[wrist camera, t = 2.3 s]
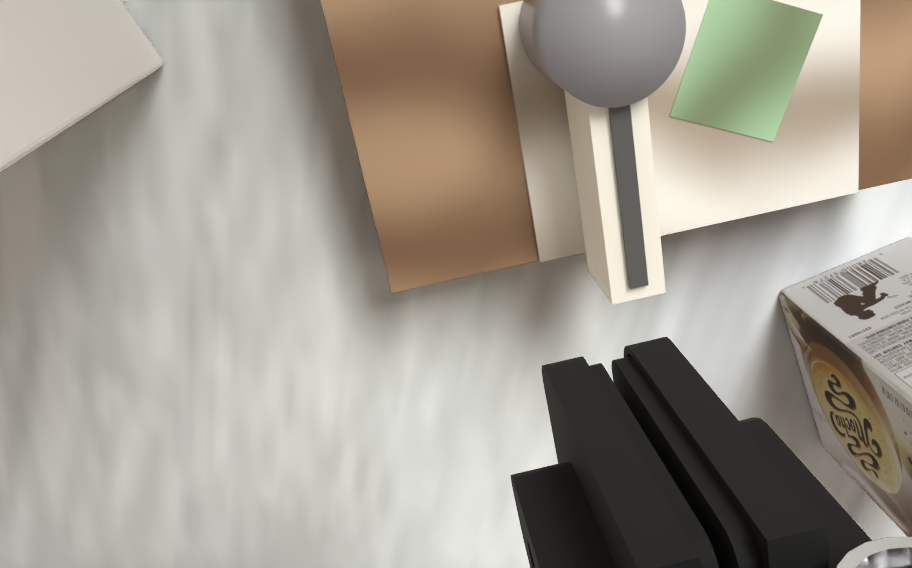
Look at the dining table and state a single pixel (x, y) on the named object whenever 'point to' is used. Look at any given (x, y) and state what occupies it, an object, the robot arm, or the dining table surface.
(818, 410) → the coffee box
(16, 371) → the dining table surface
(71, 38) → the milk carton
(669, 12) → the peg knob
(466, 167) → the board
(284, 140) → the dining table surface
